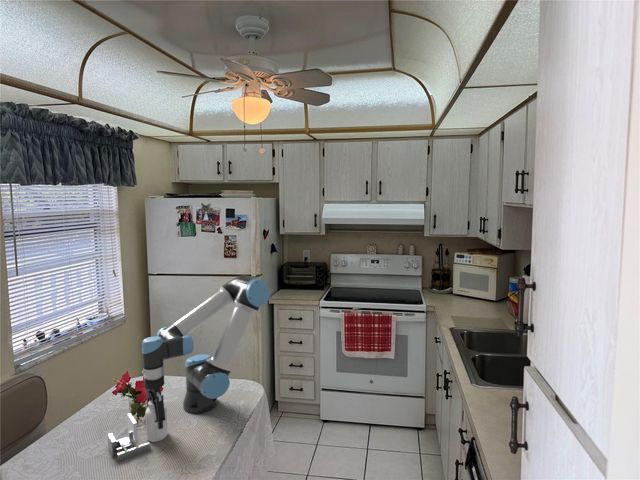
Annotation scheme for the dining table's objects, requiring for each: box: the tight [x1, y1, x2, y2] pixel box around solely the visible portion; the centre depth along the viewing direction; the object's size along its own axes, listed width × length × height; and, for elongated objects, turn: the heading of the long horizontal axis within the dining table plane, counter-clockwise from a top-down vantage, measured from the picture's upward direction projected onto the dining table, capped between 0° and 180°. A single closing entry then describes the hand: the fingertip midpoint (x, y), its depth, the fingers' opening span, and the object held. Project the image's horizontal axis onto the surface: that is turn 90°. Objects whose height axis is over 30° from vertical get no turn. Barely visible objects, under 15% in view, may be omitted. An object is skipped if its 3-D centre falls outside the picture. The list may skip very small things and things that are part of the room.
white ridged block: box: [107, 432, 152, 462], centre depth 157 cm, size 12×10×6 cm
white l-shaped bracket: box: [119, 412, 139, 452], centre depth 157 cm, size 5×12×10 cm, turn 38°
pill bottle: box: [144, 400, 169, 443], centre depth 165 cm, size 8×8×15 cm
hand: (156, 430), depth 165 cm, fingers open, 8 cm apart
